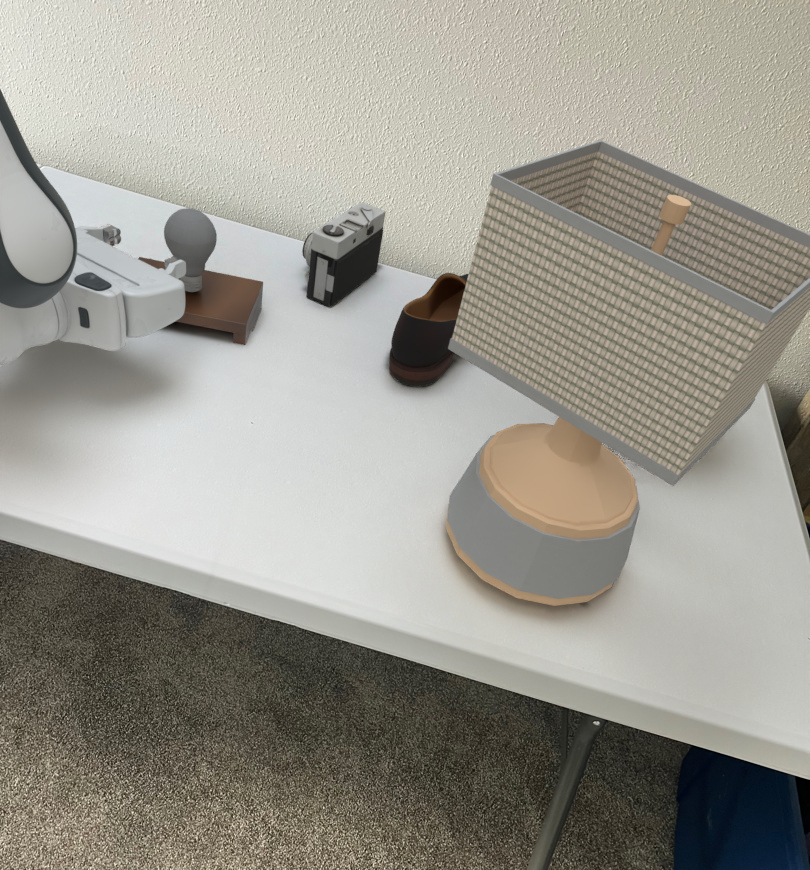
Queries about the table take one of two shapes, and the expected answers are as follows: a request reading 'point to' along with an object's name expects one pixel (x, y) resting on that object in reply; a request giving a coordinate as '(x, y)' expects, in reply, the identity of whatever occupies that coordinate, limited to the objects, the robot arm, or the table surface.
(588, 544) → the desk lamp
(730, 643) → the table surface
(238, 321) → the shelf
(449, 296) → the loafer
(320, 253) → the camera
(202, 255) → the light bulb
